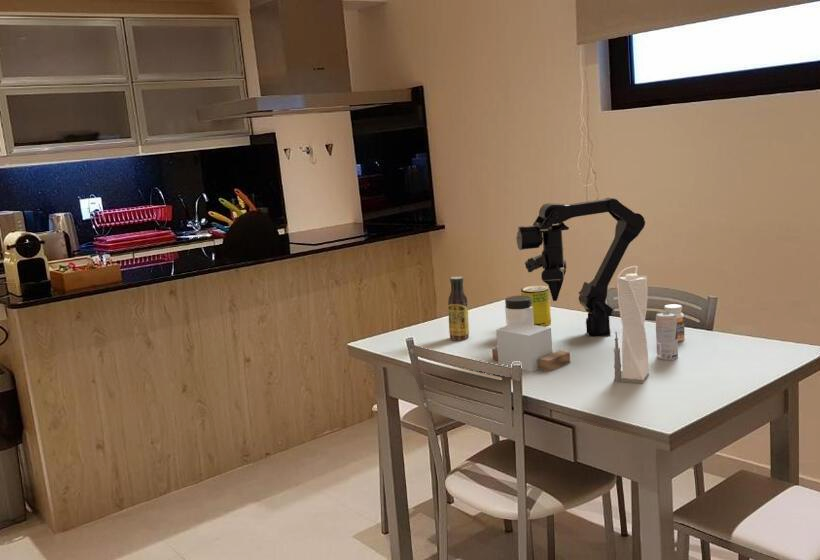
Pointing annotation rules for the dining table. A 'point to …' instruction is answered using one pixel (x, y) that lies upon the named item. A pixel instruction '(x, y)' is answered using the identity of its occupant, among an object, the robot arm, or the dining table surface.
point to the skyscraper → (632, 329)
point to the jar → (519, 310)
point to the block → (523, 344)
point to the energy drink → (666, 335)
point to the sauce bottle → (458, 310)
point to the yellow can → (539, 304)
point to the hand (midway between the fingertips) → (555, 297)
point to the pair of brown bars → (546, 359)
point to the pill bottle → (680, 319)
